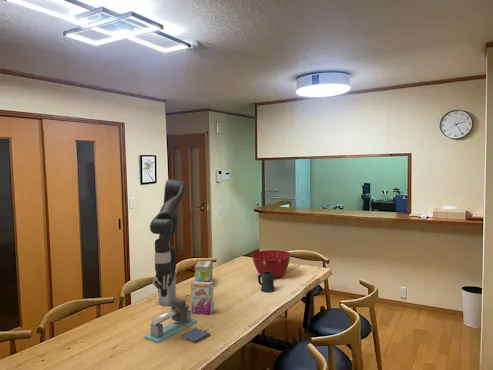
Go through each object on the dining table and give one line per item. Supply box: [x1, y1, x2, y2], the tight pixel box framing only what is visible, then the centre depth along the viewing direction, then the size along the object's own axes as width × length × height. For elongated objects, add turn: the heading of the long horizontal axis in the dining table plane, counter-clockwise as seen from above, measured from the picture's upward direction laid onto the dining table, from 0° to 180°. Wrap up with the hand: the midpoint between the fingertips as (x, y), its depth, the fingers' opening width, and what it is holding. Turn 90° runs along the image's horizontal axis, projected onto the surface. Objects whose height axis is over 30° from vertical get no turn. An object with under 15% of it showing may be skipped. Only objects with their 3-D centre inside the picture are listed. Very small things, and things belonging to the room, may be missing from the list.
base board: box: [144, 318, 198, 344], centre depth 177 cm, size 26×9×1 cm, turn 145°
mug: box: [257, 271, 276, 294], centre depth 230 cm, size 12×9×11 cm
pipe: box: [149, 302, 192, 338], centre depth 177 cm, size 22×5×9 cm, turn 145°
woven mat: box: [180, 327, 211, 345], centre depth 169 cm, size 10×11×2 cm
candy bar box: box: [190, 280, 215, 316], centre depth 197 cm, size 11×5×16 cm, turn 74°
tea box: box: [194, 260, 213, 283], centre depth 243 cm, size 15×10×15 cm, turn 179°
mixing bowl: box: [250, 249, 292, 279], centre depth 259 cm, size 28×28×15 cm
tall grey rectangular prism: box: [170, 297, 187, 323], centre depth 181 cm, size 3×7×10 cm, turn 55°
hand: (164, 296), depth 173 cm, fingers closed
